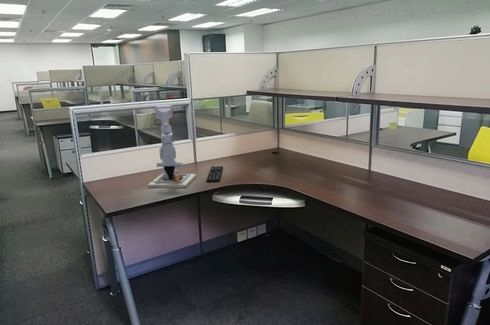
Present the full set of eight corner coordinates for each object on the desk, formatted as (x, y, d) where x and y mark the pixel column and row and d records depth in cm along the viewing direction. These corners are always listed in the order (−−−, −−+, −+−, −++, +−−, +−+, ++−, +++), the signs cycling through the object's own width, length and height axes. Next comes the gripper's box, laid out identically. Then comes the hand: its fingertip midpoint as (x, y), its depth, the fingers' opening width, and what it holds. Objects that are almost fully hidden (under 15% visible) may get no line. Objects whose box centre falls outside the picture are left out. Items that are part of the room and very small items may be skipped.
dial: (160, 177, 213) (159, 169, 212) (179, 174, 218) (179, 166, 217) (167, 184, 199) (166, 176, 198) (188, 181, 204) (187, 172, 203)
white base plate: (161, 176, 223) (161, 172, 223) (196, 176, 220) (195, 172, 220) (147, 187, 202) (147, 183, 201) (185, 187, 199) (185, 183, 198)
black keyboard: (222, 168, 238) (222, 165, 238) (219, 182, 207) (219, 179, 207) (211, 168, 238) (211, 165, 238) (206, 183, 207) (206, 179, 207)
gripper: (153, 157, 196) (155, 181, 200) (178, 157, 194) (180, 181, 197) (158, 154, 203) (160, 177, 206) (183, 154, 201) (184, 177, 204)
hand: (170, 179), depth 202 cm, fingers closed
